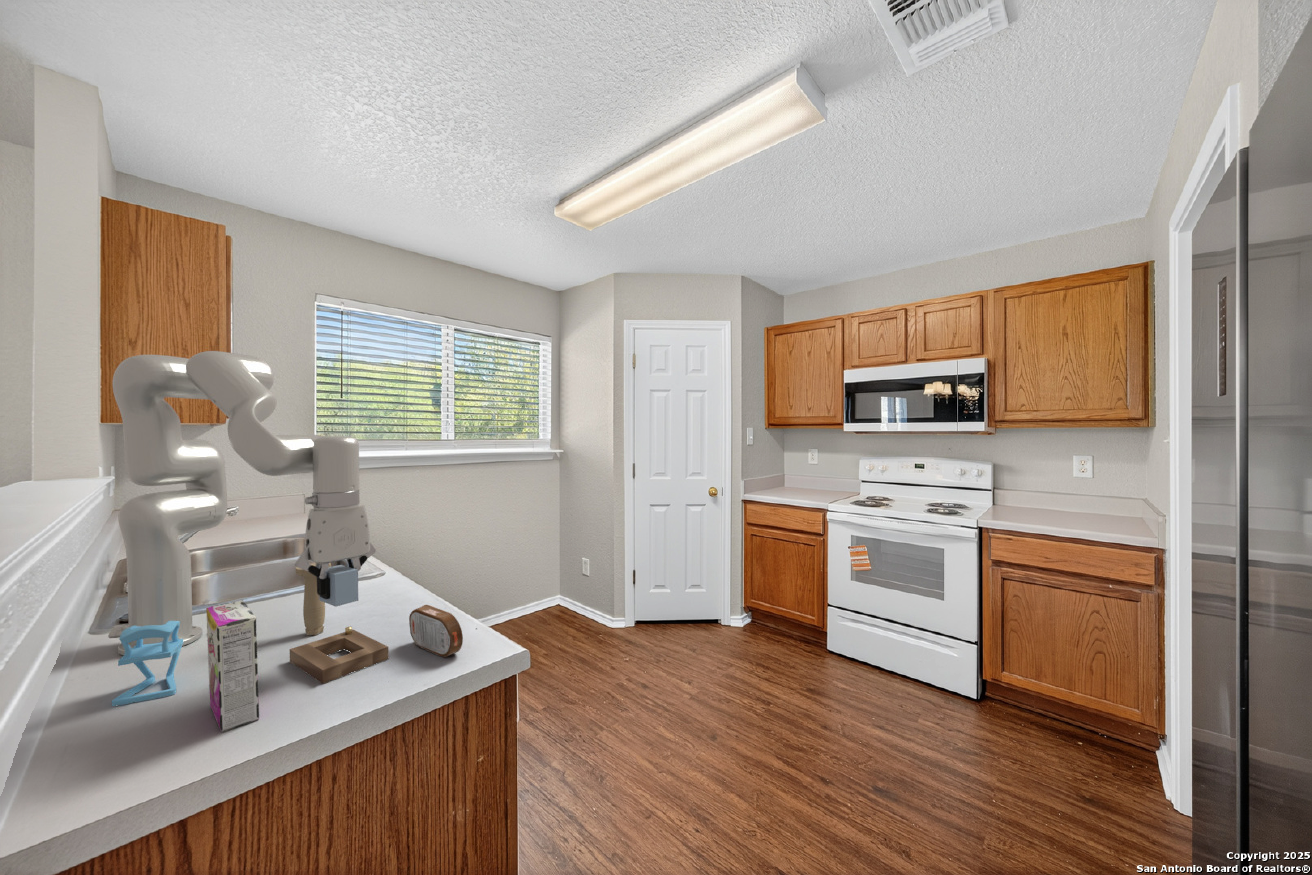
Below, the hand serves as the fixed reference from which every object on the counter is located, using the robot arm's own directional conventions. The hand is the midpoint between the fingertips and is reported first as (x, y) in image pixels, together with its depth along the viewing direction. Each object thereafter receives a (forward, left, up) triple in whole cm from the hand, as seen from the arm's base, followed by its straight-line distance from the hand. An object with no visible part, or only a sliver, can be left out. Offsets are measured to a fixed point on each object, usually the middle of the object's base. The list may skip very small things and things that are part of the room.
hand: (338, 593), depth 97 cm
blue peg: (0, 0, -1) cm, 1 cm away
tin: (+17, +1, -13) cm, 22 cm away
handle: (-11, +15, -13) cm, 23 cm away
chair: (-27, -6, -13) cm, 31 cm away
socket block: (0, 0, -13) cm, 13 cm away
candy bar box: (-9, -17, -13) cm, 23 cm away
